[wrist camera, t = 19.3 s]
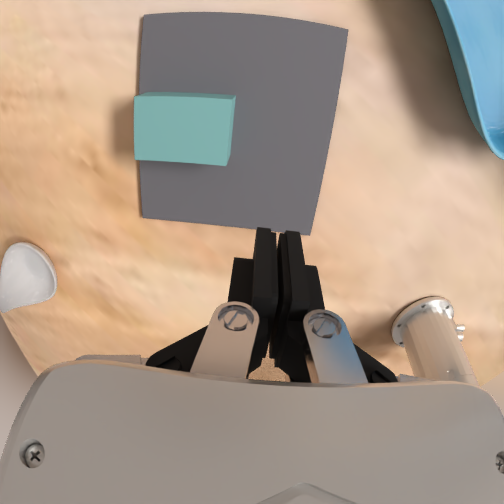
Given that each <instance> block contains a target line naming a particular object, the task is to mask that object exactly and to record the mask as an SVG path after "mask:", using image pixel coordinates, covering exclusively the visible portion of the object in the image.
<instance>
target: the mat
mask: <svg viewBox="0 0 504 504" xmlns="http://www.w3.org/2000/svg"><path fill="white" fill-rule="evenodd" d="M347 36H348V29H343V28H339V27H335V26H330V25H325V24H320V23H315V22H309V21H303V20H297V19H290V18H283V17H275V16H266V15H256V14H243V13H224V12H179V13H160V14H147V15H144V19H143V30H142V43H141V58H140V80H139V95H141V94H144V93H147V92H186V93H209V94H224V95H236V99H235V109H234V120H233V130H232V141H231V152H230V157H229V160H228V162H227V165H226V166H220V165H208V164H196V163H183V162H168V161H150V160H139V161H140V184H141V201H142V215H143V218H149V219H160V220H170V221H181V222H191V223H201V224H211V225H220V226H230V227H239V228H248V229H257V227H263V228H271V231H275V232H284V233H285V231H286V230H289V231H297V232H300V234H301V235H309V236H310V233H311V229H312V224H313V220H314V216H315V211H316V207H317V202H318V197H319V193H320V188H321V183H322V179H323V174H324V169H325V164H326V159H327V154H328V149H329V144H330V139H331V133H332V128H333V122H334V117H335V111H336V106H337V100H338V94H339V88H340V82H341V76H342V70H343V63H344V57H345V50H346V43H347Z"/></svg>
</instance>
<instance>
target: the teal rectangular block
mask: <svg viewBox="0 0 504 504" xmlns="http://www.w3.org/2000/svg"><path fill="white" fill-rule="evenodd" d="M235 99H236V95H224V94H209V93H186V92H147V93H144V94H141V95H138V96H135V97H134V155H135V160H150V161H168V162H183V163H196V164H208V165H220V166H226V165H227V162H228V160H229V157H230V152H231V141H232V130H233V120H234V109H235Z"/></svg>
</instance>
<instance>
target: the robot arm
mask: <svg viewBox="0 0 504 504" xmlns="http://www.w3.org/2000/svg"><path fill="white" fill-rule="evenodd" d="M453 316H454V310H453V307H452V305H451V303H450V302H449V301H448V300H447V299H445V298H443V297H428V298H424V299H421V300H419V301H417V302H415V303H413V304H411V305H410V306H408V307H407V308H406V309H404V310H403V311H402V312H401V313H400V314H399V316H398V317H397V318H396V319H395V321H394V323H393V325H392V329H391V334H392V337H393V340H394V342H395V343H396V344H397V345H399V346H401V347H405V350H406V353H407V356H408V359H409V362H410V365H411V368H412V371H413V374H414V376H408V375H403V374H400V375H399V376H398V377H397V376H395V375H394V373H393V372H392V371H390V370H389V369H388V368H387V367H385V366H384V365H382V364H381V363H380V362H378V361H377V360H376V359H374V358H373V357H371V356H370V355H369V354H367V353H366V352H365V351H363V350H362V349H360V348H359V347H358V346H356V345H355V344H354V343H353V342H352V340H351V337H350V335H349V332H348V330H347V327H346V325H345V323H344V321H343V320H342V318H340V317H339V316H338V315H337V314H335V313H333V312H331V311H328V310H325V307H324V301H323V296H322V291H321V285H320V280H319V275H318V270H317V267H316V266H311V265H305V261H304V255H303V248H302V242H301V236H300V232H297V231H289V230H286V231H285V234H283V233H280V235H279V240H278V246H277V244H276V233H274V232H271V228H263V227H257V231H256V239H255V247H254V254H253V259H246V258H236V257H234V262H233V269H232V276H231V283H230V289H229V296H228V302H227V303H224V304H221V305H220V306H219V307H217V308H216V310H215V311H214V313H213V315H212V318H211V320H210V323H209V325H207V326H206V327H204V328H202V329H200V330H198V331H196V332H194V333H192V334H191V335H189V336H187V337H185V338H183V339H181V340H179V341H177V342H175V343H173V344H171V345H170V346H168V347H166V348H164V349H162V350H160V351H158V352H156V353H155V354H153V355H152V356H150V358H141V355H84V356H81V357H79V358H77V359H76V360H75V361H67V362H62V363H59V364H56V365H53V366H51V367H49V368H47V369H46V370H45V371H44V372H42V373H41V375H40V376H39V377H38V378H37V379H36V381H35V382H34V383H33V385H32V387H31V388H30V390H29V392H28V393H27V395H26V397H25V399H24V401H23V402H22V404H21V407H20V409H19V411H18V413H17V416H16V418H15V420H14V423H13V425H12V427H11V430H10V433H9V436H8V438H7V442H6V444H5V448H4V450H3V454H2V457H1V460H0V504H504V417H503V415H502V413H501V410H500V408H499V406H498V404H497V403H496V401H495V399H494V398H493V397H492V396H491V394H490V393H489V392H487V391H486V390H484V389H482V388H480V386H479V383H478V381H477V378H476V376H475V374H474V371H473V369H472V367H471V364H470V362H469V360H468V357H467V355H466V353H465V351H464V348H463V346H462V344H461V341H462V340H463V333H462V332H463V331H464V328H465V327H464V325H463V324H457V325H456V324H455V322H454V320H453ZM268 344H269V358H272V359H275V367H279V368H280V369H281V370H283V371H284V372H285V373H286V375H285V382H280V381H265V380H253V379H249V374H250V373H251V372H252V371H254V370H255V369H257V368H258V367H260V366H261V362H262V358H265V357H266V353H267V349H268Z"/></svg>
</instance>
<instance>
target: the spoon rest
mask: <svg viewBox="0 0 504 504" xmlns="http://www.w3.org/2000/svg"><path fill="white" fill-rule="evenodd" d="M56 289H57V274H56V271H55V268H54V265H53V263H52V261H51V260H50V258H49V257H48V256H47V254H46V253H45V252H44V251H43V250H42V249H40V248H39V247H37V246H36V245H34V244H31V243H28V242H18V243H15V244H12V245H11V246H10V247H9V248H8V249H7V251H6V253H5V255H4V258H3V261H2V266H1V271H0V311H1V312H2V313H5V312H7V311H9V310H11V309H14V308H18V307H22V306H27V305H32V304H37V303H40V302H44V301H46V300H48V299H50V298H51V297H53V295H54V294H55V292H56Z"/></svg>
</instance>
